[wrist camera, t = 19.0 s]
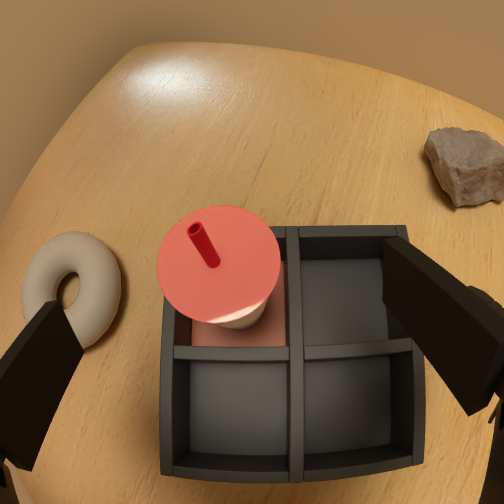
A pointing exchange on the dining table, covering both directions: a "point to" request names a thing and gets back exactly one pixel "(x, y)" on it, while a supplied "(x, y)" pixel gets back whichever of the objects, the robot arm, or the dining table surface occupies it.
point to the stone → (467, 165)
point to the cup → (219, 266)
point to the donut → (91, 283)
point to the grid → (297, 373)
